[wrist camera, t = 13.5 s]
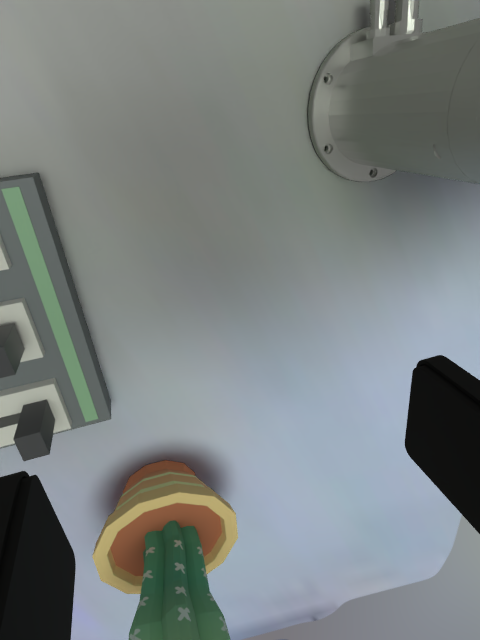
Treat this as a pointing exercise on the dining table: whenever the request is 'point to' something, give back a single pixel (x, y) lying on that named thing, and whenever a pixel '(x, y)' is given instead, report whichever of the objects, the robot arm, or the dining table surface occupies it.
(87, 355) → the breaker panel
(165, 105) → the dining table surface
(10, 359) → the breaker handle
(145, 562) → the potted cactus
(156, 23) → the dining table surface
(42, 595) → the robot arm
